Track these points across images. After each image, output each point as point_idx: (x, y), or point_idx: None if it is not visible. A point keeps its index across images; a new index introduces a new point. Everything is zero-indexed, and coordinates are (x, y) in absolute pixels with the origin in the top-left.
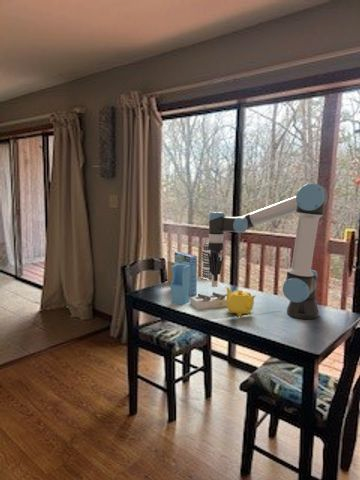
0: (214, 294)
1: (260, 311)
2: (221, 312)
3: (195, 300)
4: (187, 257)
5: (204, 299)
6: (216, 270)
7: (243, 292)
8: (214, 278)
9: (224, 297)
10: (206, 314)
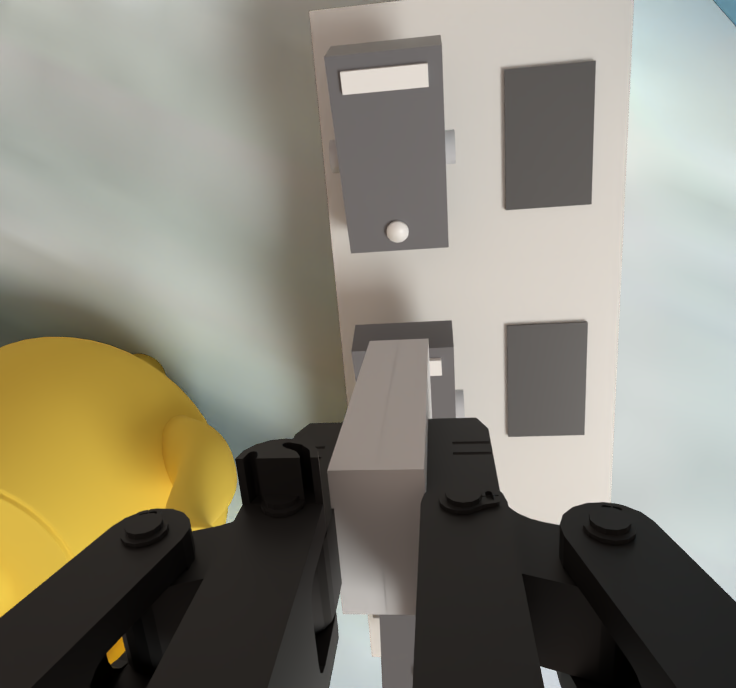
0: (385, 336)
1: None
2: (158, 277)
3: (434, 4)
4: None
5: None
6: (15, 620)
7: None
8: (330, 451)
9: None
10: (112, 66)
